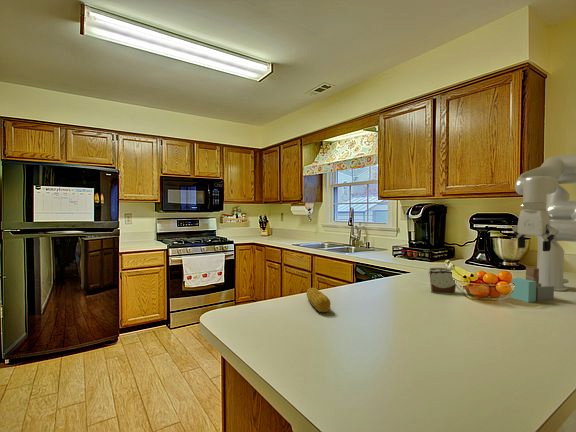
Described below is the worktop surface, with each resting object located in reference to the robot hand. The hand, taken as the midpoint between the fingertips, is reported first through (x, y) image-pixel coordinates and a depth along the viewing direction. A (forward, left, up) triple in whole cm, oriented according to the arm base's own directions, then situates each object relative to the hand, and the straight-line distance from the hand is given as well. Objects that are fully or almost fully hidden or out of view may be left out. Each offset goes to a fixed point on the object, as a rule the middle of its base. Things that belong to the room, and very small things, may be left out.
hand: (533, 249), depth 129 cm
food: (+88, -15, -20) cm, 92 cm away
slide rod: (+3, 0, -17) cm, 17 cm away
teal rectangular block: (+5, 0, -20) cm, 21 cm away
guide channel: (-3, 0, -20) cm, 20 cm away
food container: (+28, -19, -20) cm, 40 cm away
